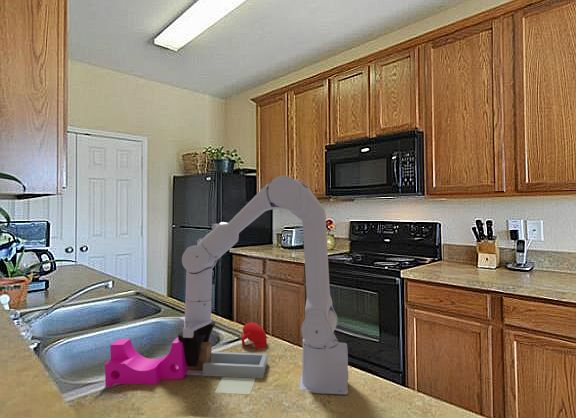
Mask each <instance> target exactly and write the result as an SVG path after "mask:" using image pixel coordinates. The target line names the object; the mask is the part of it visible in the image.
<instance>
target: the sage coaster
mask: <svg viewBox="0 0 576 418" xmlns="http://www.w3.org/2000/svg"><path fill="white" fill-rule="evenodd" d="M255 381H256V378H250V377H228V376H221V379H220V382H219V383H218V385H217V386H216V389H215V391H214V394H227V395H228V394H229V395H231V394H233V395H251V393H252V391H253V386H254V383H255Z"/></svg>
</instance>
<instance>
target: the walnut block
mask: <svg viewBox="0 0 576 418" xmlns="http://www.w3.org/2000/svg"><path fill="white" fill-rule="evenodd" d="M212 344H213V343H212V341H209V342H202V345H201V349H200V355H199V361H198V364H197V366H187V368H188V370H193V371H203V364H204V363H211V353H212Z"/></svg>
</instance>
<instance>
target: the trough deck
mask: <svg viewBox="0 0 576 418" xmlns="http://www.w3.org/2000/svg"><path fill="white" fill-rule="evenodd" d="M267 364H268V354H267V353H252V352H250V353H249V352H231V351H228V352H227V351H211V363H204V364H203V371H193V370H188V372H187V373H186V375H187V376H206V377H208V376H210V377H211V376H212V377H232V378H255V379H263V378H264V375H265V372H266V370H267V369H266V368H267V366H268V365H267ZM186 375H185V376H186Z"/></svg>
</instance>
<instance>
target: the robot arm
mask: <svg viewBox="0 0 576 418" xmlns="http://www.w3.org/2000/svg"><path fill="white" fill-rule="evenodd" d="M276 209H285V210H287V211H290V212H291V213H292V214H293V215H294V216H295V217H297V218H298V219H299V220H300V221H301V222H302V235H303V253H304V255H303V256H304V271H305V272H304V274H305V292H306V301H305V308H304V313H305V314H304V320H303V322H302V324H301V329H300V330H301V336H302V366H301V368H302V369H301V370H302V371H301V374H300V380H299V381H300V382H299V391H301V392H311V394H324V395H325V394H327V395H328V394H329V395H348V393H349V391H348V387H349V386H348V381H349V355H348V353H349V351H348V344H347V343H346V342H340V341H338V338H337V336H336V335H335V333H334V331H335V330H336V328H337V327H338V321H339V320H338V318H339V317H338V315H337V312H336V311H335V309H334V307H333V306H334V305H333V299H332V295H331V289H330V288H331V287H330V286H331V285H330V273H329V272H330V270H329V255H328V238H327V237H328V236H327V235H328V234H327V220H326V219H327V218H326V216H327V215H326V210H325V208H324V206H323V205H322V204H321V202H320V201H319V199H318V198H317V197H316V196H315V194H314V193H313V191H312V189H311V188H310V187H309V186H308V185H306V184H305V183H303V182H302V181H300V180H298V179H296V178H295V179H294V178H293V177H291V176H288V175H280V176H277V177H275V178H273V179H272V181H270V182H269V183H268V184H266V185H265V186H263V187H262V188H261V189H260V190H259V191H258V192H257V194H255V195H254V196H253V198H251V200H249V202H247V204H245V205H244V207H242V208H241V209H240V211H239V212H237V213H236V214H235V215H234V217H232V219H230V220H229V222H224V221H222V222H219V223H214V224H213V225H212V226H211V230H210V232H208V233H207V234H206V235H205V236H204V237H203V238H199V239H198V240H196V245H190V246H188V247H186V249H185V250H184V252H183V254H182V257H181V264H182V266H183V268H184V269H185V270H186V272H185V304H184V305H185V306H184V308H185V309H184V316H181V317H180V318H179V323H183V325H184V327H183V328H182V331H180V332H179V333H178V334H177V337H178V340H179V341H180V342H183V347H184V353H185V359H186V363H187V366H197V364H198V361H199V355H200V349H201V345H202V342H210V341H209V340H210V337H211V334H212V331H213V329H214V328H215V326H216V322H215V321H213V320H212V319H213V317H212V296H213V295H212V289H213V268H214V267H215V266H216V265H217V262H218V260H219V259H220V258H221V257H222V256H223V255H224V254H226V252H228V251H230V249H231V248H233V247H234V246H235V245H236V244H237V243H238V242H239V236H240V235H239V234H240V233H241V232H242V231H244V229H245V228H247V227H248V226H249V225H251V224H252V223H253V222H254V221H256V219H258V218H259V217H260V216H261V215H263V214H264V213H265V212H267V211H271V210H276Z"/></svg>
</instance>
